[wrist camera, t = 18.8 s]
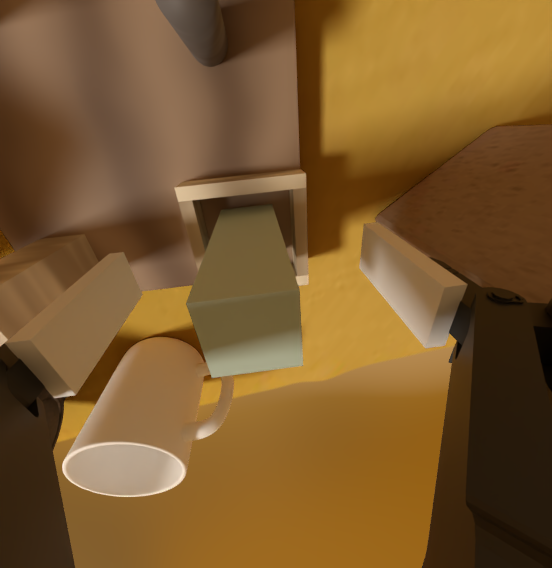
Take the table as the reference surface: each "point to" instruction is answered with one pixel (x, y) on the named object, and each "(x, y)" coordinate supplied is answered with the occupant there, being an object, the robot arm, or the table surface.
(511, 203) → the wooden block
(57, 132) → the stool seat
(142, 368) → the cup
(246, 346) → the leg peg
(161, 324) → the table surface
